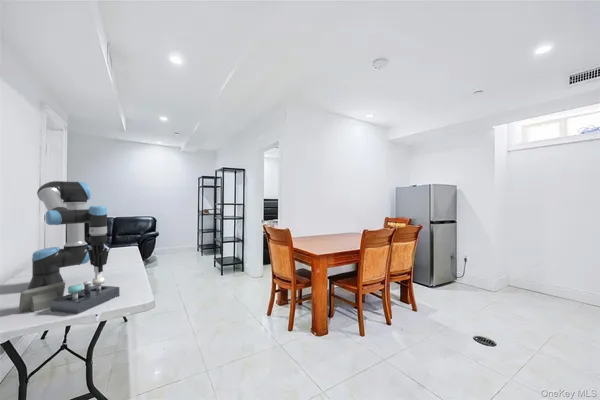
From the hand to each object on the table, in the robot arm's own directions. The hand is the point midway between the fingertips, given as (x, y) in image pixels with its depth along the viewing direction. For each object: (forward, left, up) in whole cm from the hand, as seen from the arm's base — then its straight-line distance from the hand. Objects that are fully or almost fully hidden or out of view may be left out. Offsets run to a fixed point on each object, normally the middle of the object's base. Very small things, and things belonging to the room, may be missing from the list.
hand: (98, 277), depth 136 cm
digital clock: (-17, -14, -12) cm, 25 cm away
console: (0, -6, -11) cm, 13 cm away
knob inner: (0, 0, -8) cm, 8 cm away
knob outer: (0, -12, -8) cm, 14 cm away
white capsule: (0, -6, -6) cm, 9 cm away
